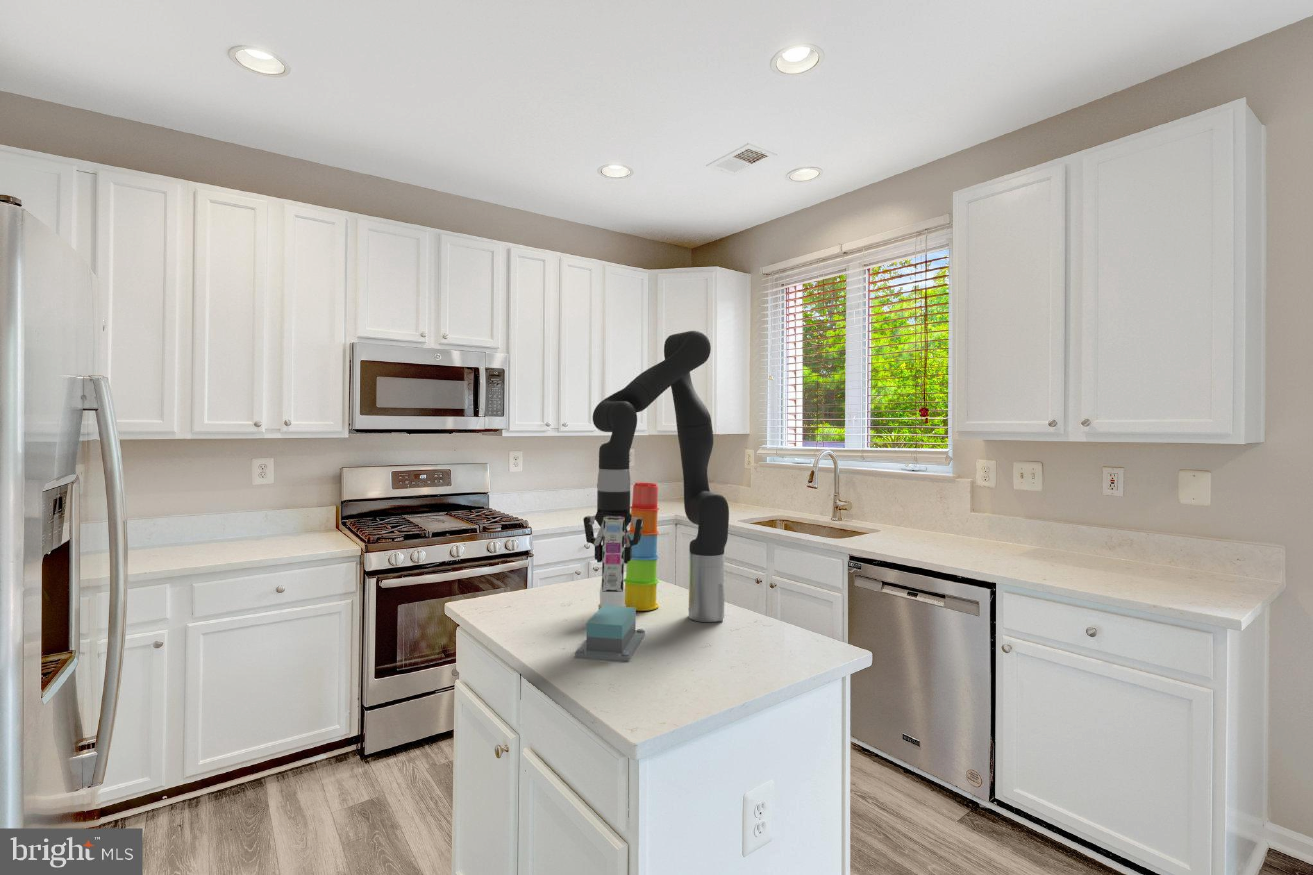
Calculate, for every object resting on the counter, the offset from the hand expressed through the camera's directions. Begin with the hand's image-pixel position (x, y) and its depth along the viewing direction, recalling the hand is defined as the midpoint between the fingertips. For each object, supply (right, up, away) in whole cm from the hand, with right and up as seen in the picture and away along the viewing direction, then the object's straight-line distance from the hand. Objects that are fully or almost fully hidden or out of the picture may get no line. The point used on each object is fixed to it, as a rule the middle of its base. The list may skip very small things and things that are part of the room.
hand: (612, 562), depth 143 cm
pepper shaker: (-2, -19, +21) cm, 28 cm away
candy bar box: (0, -6, 0) cm, 6 cm away
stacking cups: (+5, -19, +32) cm, 37 cm away
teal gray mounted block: (0, -19, 0) cm, 19 cm away
